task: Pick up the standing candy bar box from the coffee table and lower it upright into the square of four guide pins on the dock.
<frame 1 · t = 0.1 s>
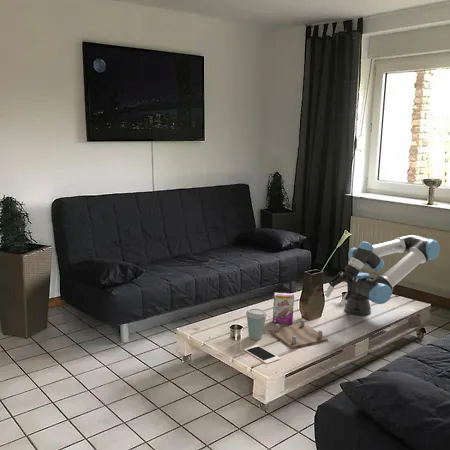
hand: (333, 300, 273), 15 cm above the table, tool tilted 35°, fingers open, 13 cm apart
disposable coffee cup: (255, 337, 261), on the table
cell phone: (261, 355, 243), on the table
candy bar box: (282, 322, 282), on the table
pin dock: (298, 336, 263), on the table
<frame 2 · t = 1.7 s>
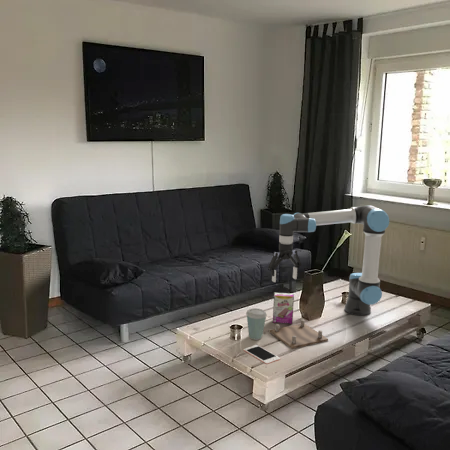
hand: (284, 280, 277), 25 cm above the table, tool pointing down, fingers open, 13 cm apart
nothing on the table moved.
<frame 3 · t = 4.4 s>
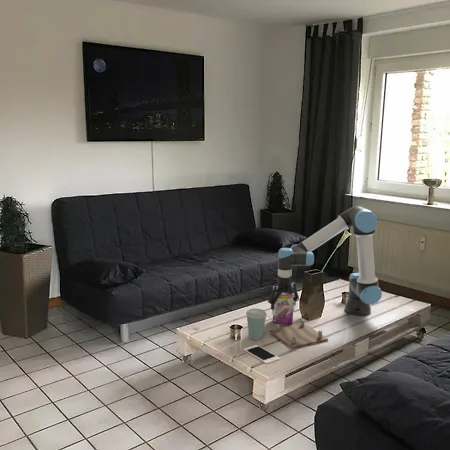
hand: (283, 313, 281), 5 cm above the table, tool pointing down, fingers closed on candy bar box, 12 cm apart
candy bar box: (282, 322, 282), on the table, touching gripper
everything else where it was.
when the fingers open (7 cm above the table, at t = 12.1 s): candy bar box stays where it is, resting on pin dock.
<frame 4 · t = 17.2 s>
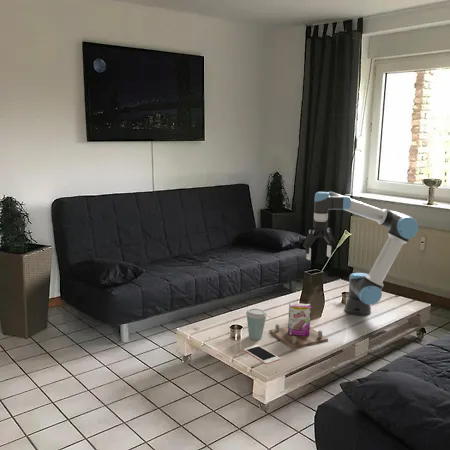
hand: (318, 258, 277), 37 cm above the table, tool pointing down, fingers open, 13 cm apart
candy bar box: (298, 334, 263), point 1 cm above the table, touching pin dock
everything else where it was.
at the end: candy bar box 0.2 cm off-centre on the pin dock, point 1.0 cm above the pin dock's base; candy bar box tilted 0°; the gripper is holding nothing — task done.
